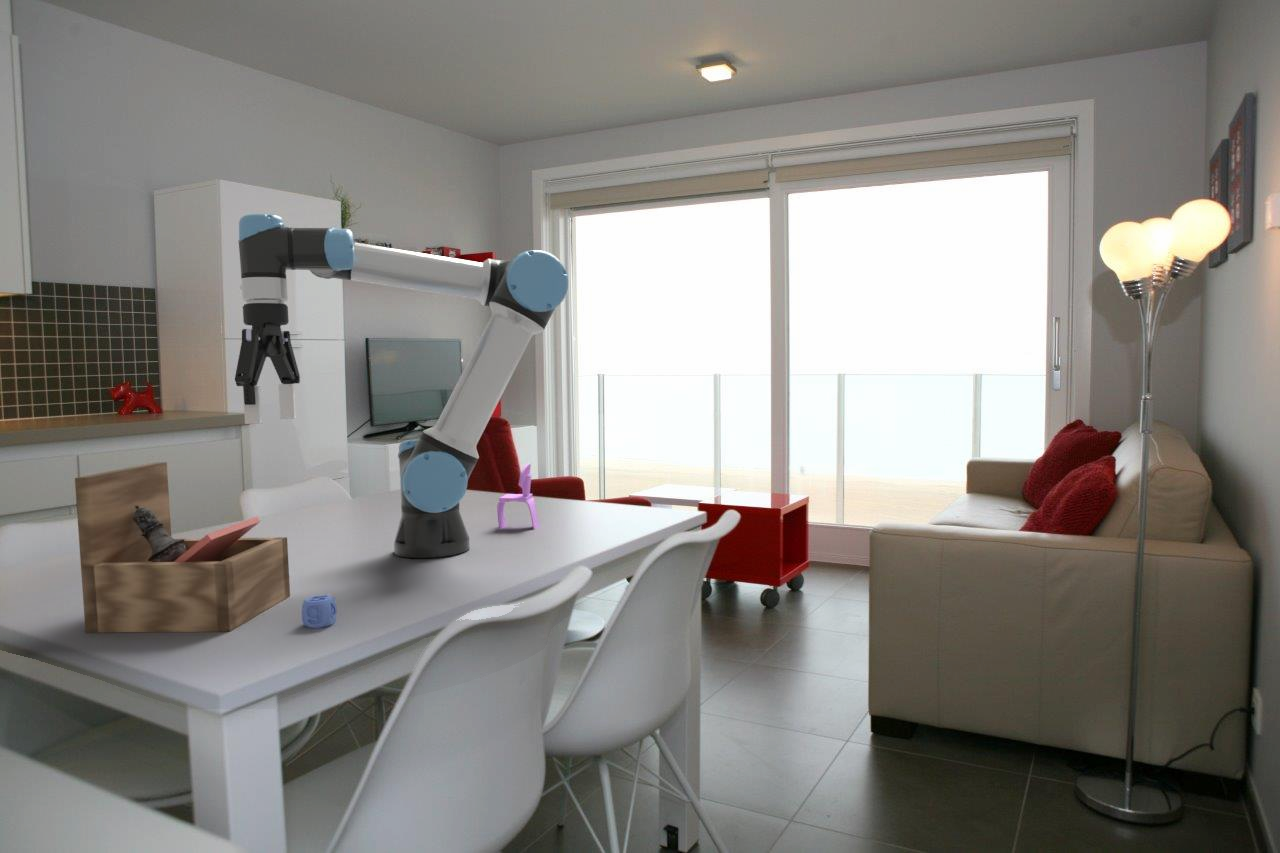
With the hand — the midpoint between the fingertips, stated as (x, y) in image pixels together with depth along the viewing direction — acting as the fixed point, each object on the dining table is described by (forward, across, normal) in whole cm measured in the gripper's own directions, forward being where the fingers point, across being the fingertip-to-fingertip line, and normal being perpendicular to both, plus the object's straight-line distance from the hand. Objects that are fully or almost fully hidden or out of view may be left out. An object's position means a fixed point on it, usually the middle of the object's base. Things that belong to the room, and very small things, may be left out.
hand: (271, 421), depth 165 cm
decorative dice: (+29, +30, +20) cm, 46 cm away
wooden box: (+29, +24, -3) cm, 37 cm away
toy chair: (+29, -48, +35) cm, 66 cm away
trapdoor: (+19, +24, -1) cm, 30 cm away
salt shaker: (+22, +23, -5) cm, 32 cm away
